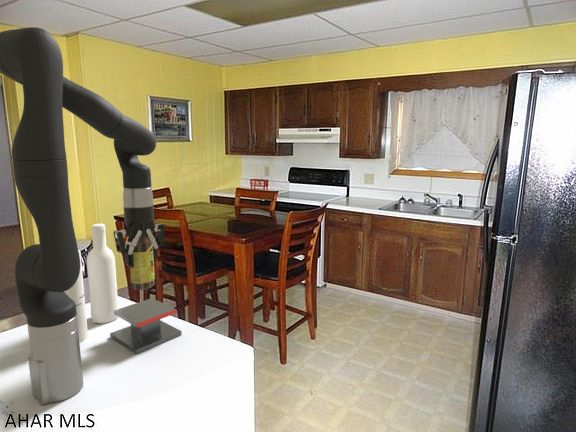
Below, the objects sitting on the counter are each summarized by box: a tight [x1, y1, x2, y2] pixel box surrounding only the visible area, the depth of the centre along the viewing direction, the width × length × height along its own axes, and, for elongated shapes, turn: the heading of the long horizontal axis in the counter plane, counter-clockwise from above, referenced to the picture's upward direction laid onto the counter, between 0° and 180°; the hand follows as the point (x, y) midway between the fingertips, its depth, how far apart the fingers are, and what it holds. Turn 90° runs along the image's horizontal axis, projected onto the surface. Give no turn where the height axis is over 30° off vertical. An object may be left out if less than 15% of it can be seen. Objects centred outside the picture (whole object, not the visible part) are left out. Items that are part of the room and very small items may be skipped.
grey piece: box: [109, 297, 183, 355], centre depth 113 cm, size 14×14×8 cm
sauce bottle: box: [129, 223, 156, 291], centre depth 109 cm, size 6×6×20 cm
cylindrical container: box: [64, 249, 89, 343], centre depth 109 cm, size 7×7×25 cm
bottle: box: [86, 223, 120, 324], centre depth 122 cm, size 8×8×30 cm
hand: (142, 264), depth 109 cm, fingers closed on sauce bottle, 6 cm apart
